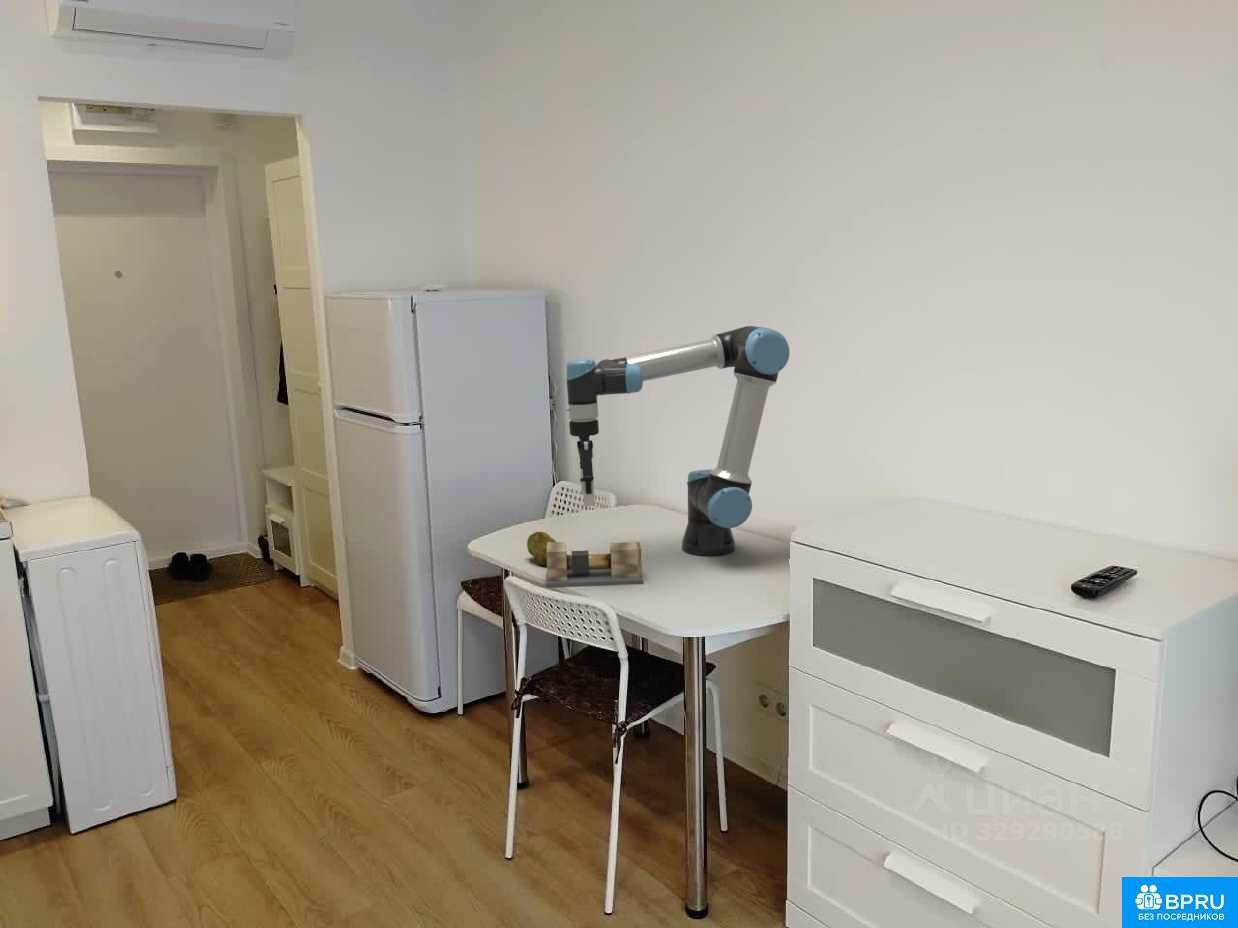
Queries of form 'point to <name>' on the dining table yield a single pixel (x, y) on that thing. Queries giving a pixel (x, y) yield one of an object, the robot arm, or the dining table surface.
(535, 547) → the potato
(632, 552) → the sleeve
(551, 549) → the socket
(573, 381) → the robot arm
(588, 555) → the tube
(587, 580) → the board
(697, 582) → the dining table surface
